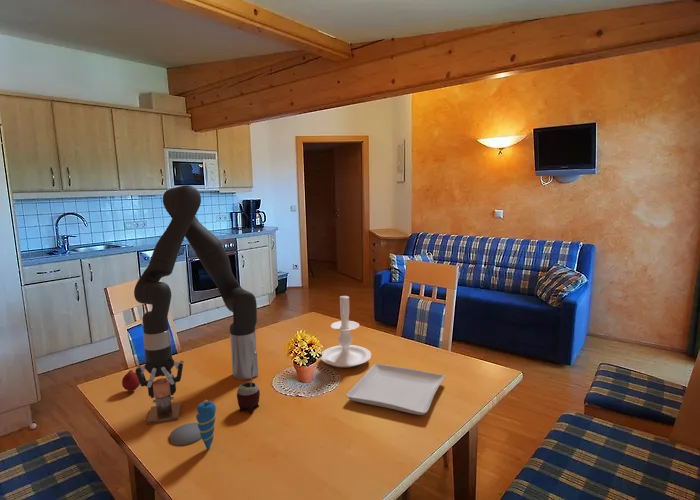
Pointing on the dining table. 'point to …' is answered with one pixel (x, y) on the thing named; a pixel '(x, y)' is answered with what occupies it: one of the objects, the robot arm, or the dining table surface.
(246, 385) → the mate gourd
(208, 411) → the ornament
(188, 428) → the coaster
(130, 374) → the onion
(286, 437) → the dining table surface
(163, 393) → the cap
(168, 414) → the cylinder on square base
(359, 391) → the square plate
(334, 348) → the candlestick
